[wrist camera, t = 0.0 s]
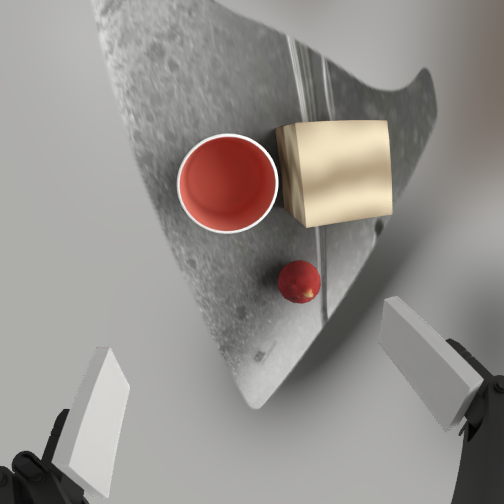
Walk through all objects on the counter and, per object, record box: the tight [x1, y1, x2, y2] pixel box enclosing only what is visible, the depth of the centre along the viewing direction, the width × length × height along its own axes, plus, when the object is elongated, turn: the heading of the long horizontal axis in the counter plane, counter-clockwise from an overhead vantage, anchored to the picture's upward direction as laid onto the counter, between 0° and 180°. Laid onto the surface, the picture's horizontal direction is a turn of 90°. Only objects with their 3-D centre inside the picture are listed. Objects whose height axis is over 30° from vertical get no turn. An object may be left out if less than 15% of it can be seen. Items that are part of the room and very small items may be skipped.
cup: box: [177, 134, 278, 234], centre depth 32 cm, size 10×10×10 cm
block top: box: [283, 120, 392, 228], centre depth 31 cm, size 11×11×5 cm
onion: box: [278, 260, 321, 304], centre depth 39 cm, size 6×6×8 cm
